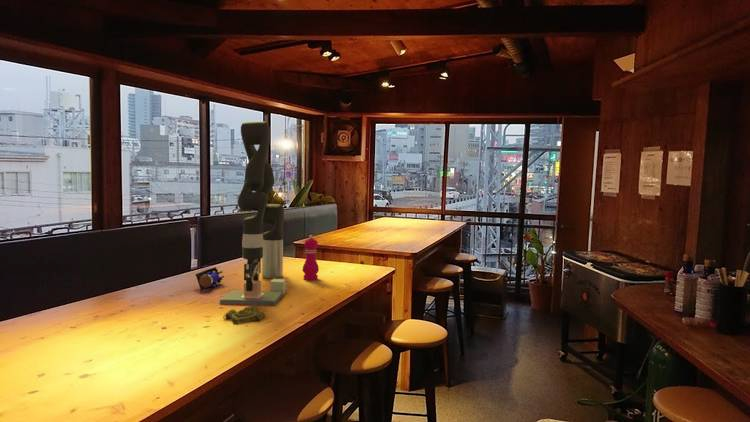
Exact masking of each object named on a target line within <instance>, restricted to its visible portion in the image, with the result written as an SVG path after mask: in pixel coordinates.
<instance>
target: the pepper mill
mask: <svg viewBox="0 0 750 422" xmlns="http://www.w3.org/2000/svg"><path fill="white" fill-rule="evenodd" d="M308 237H309V238H307V239H306V240H305V241H304V242H303V243H304V244H303V246H304V248H305V254H306V255H305V256H306V257H305V261H304V263H303V266H302V272H303V273H304V274H303V280H304V281H317V280H318V273H319V271H320V270H319V267H320V266H319V265H318V262H317V259H316V253H317V248H318V245H319V243H318V241H317V239H315V238H314V236H313V235H312V234H311V235H309V236H308Z"/></svg>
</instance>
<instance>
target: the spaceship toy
mask: <svg viewBox="0 0 750 422" xmlns="http://www.w3.org/2000/svg"><path fill="white" fill-rule="evenodd" d="M259 310H260V307H259V305H251V306H249V307H244V308H243V309H241V310H238V311H237V310H236V309H234V308H233V309H231V310H228V311H227V312H225V313H224V315H223V317H222V318H223V320H226V319H228V320H230V321H232V325H234V324H238V325H239V324H242V323H246V322H250V321H253V322H256V321H257V322H260V320H262V319H264V318H265V316H266V312H265V311H264V310H260V311H259Z"/></svg>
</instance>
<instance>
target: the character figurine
mask: <svg viewBox="0 0 750 422" xmlns="http://www.w3.org/2000/svg"><path fill="white" fill-rule="evenodd" d="M220 274H223V270H221V271H219V270H218V268H217V267H216V266H215V267H213V268H212V267H211V268H209V269H206V270H203V271H201V272H198V273H195V277H196V281H197V282H198V285H199V289H200V290H201V291H203V290H205V289H207V288H209V287H213V288H216V287H217V284H219V283H222V280H223V278H225V276H224V275H221V276H220Z"/></svg>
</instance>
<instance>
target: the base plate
mask: <svg viewBox="0 0 750 422" xmlns="http://www.w3.org/2000/svg"><path fill="white" fill-rule="evenodd" d="M283 296H284V294H283V292H276V291H270V290H261V294H260V295H259V296H258V297H244V290H235V289H234V290H233V289H232V290H231V291H229V292H228V293H226V294H225V295H224V296H222V297H221V298H220V299H219V304H220V305H244V306H246V305H249V306H250V305H251V306H255V305H257V306H276V305H277V304H278V302H279V301H280V300H281V299H282V297H283Z"/></svg>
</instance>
